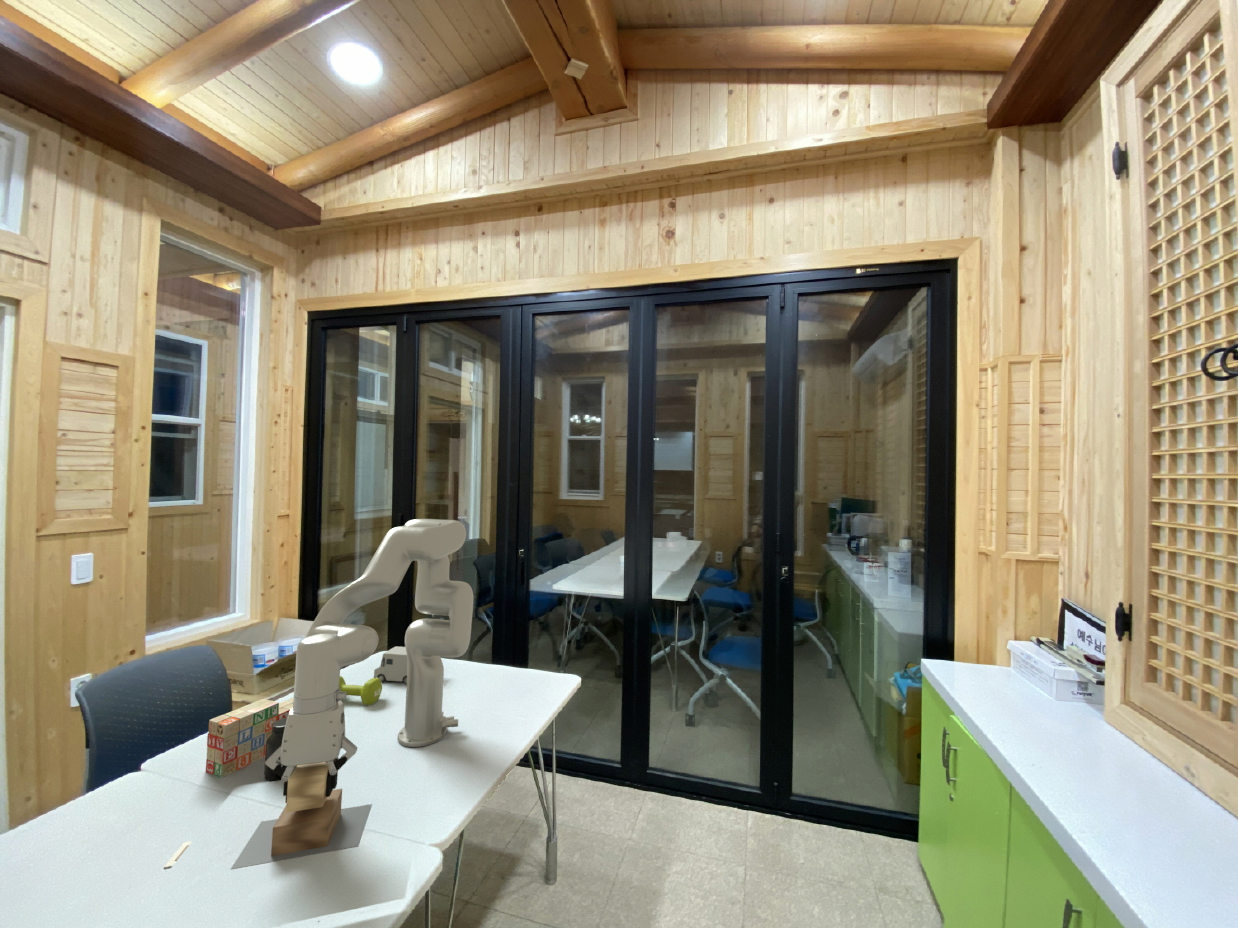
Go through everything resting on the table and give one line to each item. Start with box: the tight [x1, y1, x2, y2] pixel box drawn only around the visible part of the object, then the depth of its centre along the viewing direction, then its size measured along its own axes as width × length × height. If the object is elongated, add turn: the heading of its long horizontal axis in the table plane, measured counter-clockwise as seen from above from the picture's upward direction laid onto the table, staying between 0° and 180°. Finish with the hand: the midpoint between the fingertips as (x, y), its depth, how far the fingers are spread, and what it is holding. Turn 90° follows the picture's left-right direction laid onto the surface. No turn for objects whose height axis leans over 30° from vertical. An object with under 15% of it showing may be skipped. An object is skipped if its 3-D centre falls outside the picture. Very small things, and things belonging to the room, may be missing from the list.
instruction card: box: [163, 840, 193, 869], centre depth 86 cm, size 8×6×1 cm
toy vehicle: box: [373, 646, 407, 685], centre depth 165 cm, size 9×18×10 cm, turn 85°
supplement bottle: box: [263, 718, 296, 783], centre depth 110 cm, size 7×7×12 cm
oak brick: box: [285, 762, 329, 812], centre depth 90 cm, size 6×6×6 cm
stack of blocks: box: [205, 697, 294, 779], centre depth 119 cm, size 21×6×12 cm, turn 159°
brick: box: [271, 788, 343, 856], centre depth 90 cm, size 9×9×5 cm
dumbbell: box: [339, 675, 383, 706], centre depth 147 cm, size 16×8×7 cm, turn 85°
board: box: [230, 803, 373, 870], centre depth 89 cm, size 20×12×1 cm, turn 107°
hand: (310, 794), depth 90 cm, fingers closed on oak brick, 6 cm apart
